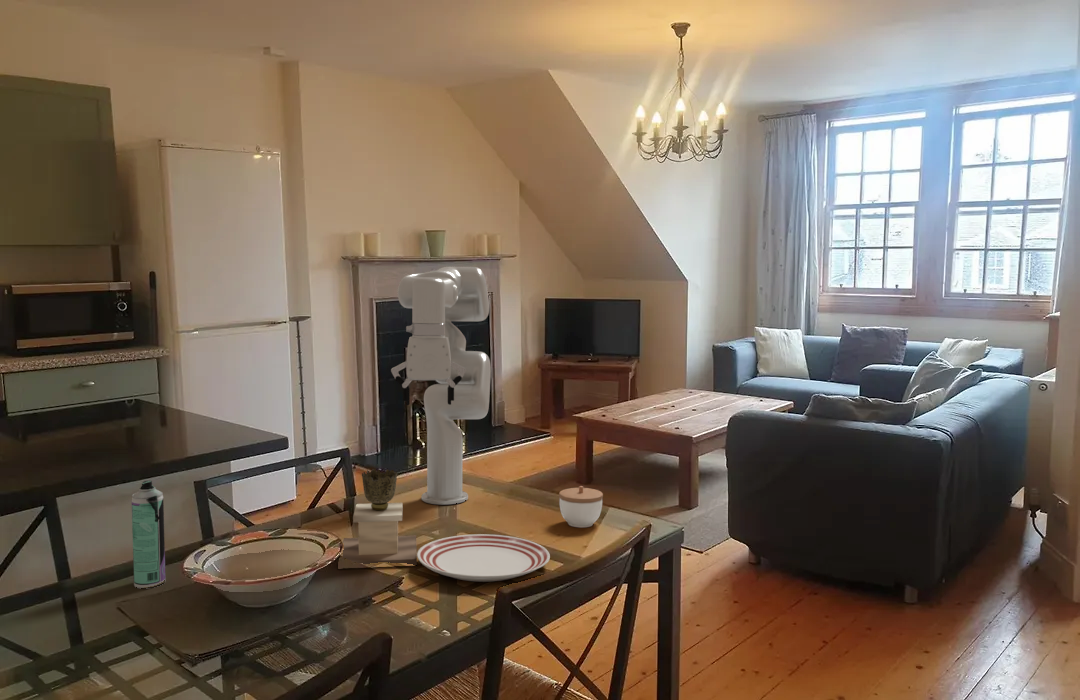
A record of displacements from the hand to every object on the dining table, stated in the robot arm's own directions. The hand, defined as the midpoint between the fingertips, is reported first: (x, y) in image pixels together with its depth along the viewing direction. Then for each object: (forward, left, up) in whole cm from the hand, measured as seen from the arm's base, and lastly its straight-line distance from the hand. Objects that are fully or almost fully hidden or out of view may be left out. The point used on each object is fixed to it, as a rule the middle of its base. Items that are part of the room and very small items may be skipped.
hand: (428, 404), depth 187 cm
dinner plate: (+26, +11, -31) cm, 42 cm away
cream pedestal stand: (+16, -11, -30) cm, 36 cm away
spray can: (+27, -54, -31) cm, 68 cm away
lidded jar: (-1, +37, -31) cm, 48 cm away
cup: (+16, -11, -20) cm, 28 cm away
